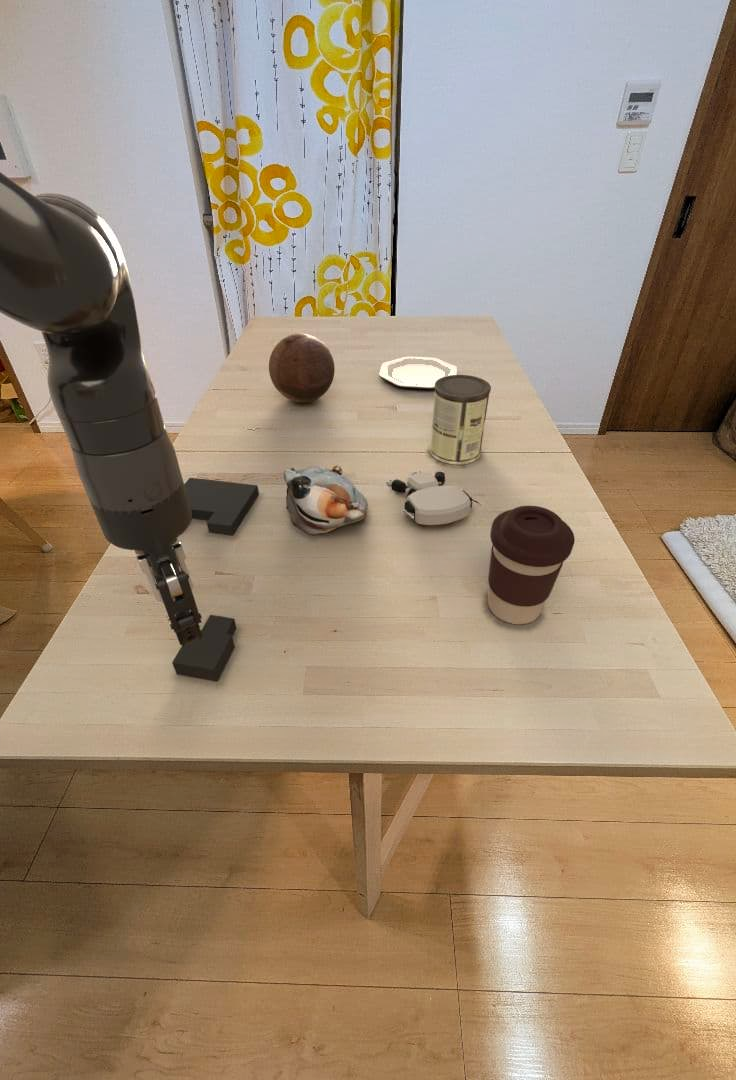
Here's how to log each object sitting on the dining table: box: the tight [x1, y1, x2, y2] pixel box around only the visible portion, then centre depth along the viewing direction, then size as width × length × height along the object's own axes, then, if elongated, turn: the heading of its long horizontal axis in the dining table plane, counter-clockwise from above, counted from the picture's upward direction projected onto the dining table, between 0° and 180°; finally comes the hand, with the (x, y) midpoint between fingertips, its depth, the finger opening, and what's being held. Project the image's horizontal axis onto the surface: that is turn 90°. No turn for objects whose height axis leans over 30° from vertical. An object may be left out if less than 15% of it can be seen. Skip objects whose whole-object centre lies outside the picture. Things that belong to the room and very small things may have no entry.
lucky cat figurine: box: [282, 465, 368, 536], centre depth 83 cm, size 15×12×14 cm
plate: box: [378, 356, 458, 390], centre depth 134 cm, size 20×20×2 cm
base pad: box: [184, 477, 260, 536], centre depth 89 cm, size 13×12×2 cm
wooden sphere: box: [268, 333, 336, 403], centre depth 119 cm, size 15×15×15 cm
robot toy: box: [385, 470, 483, 526], centre depth 89 cm, size 12×4×15 cm
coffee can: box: [429, 374, 492, 466], centre depth 100 cm, size 10×10×14 cm
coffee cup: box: [487, 505, 576, 625], centre depth 67 cm, size 10×10×15 cm
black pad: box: [171, 614, 237, 682], centre depth 65 cm, size 5×8×2 cm, turn 169°
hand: (179, 612), depth 54 cm, fingers open, 8 cm apart
